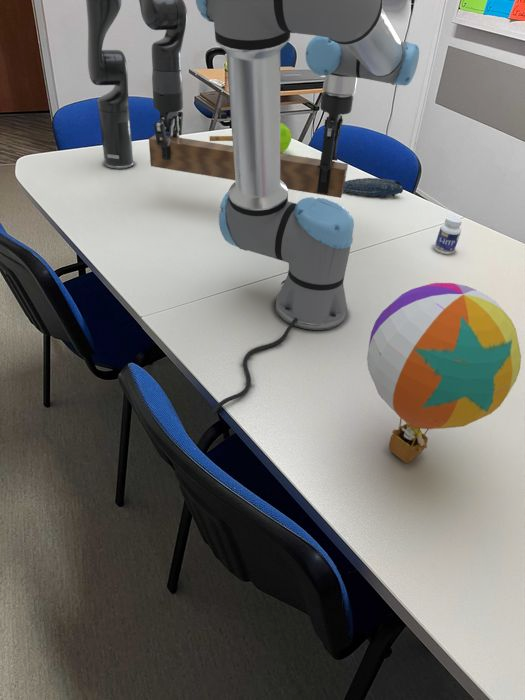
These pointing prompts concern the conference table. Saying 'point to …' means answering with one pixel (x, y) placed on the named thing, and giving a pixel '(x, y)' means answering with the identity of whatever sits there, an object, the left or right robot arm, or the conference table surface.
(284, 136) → the decorative tree
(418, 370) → the toy
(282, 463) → the conference table surface
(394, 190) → the fish model
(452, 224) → the pill bottle
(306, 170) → the post
